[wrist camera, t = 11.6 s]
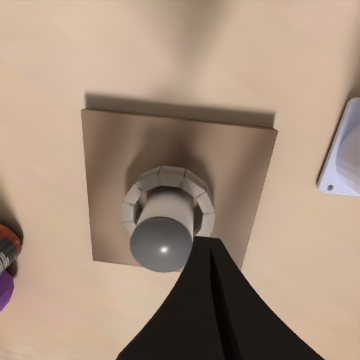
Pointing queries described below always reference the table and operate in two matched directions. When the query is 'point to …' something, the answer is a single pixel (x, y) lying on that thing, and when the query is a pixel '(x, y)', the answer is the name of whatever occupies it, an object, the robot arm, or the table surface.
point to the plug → (164, 230)
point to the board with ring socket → (172, 176)
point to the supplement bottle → (8, 247)
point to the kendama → (5, 288)
